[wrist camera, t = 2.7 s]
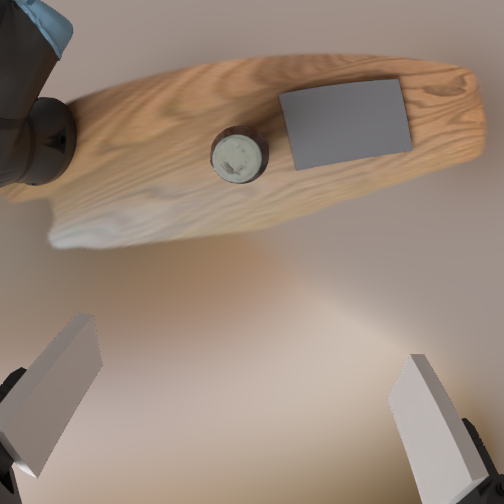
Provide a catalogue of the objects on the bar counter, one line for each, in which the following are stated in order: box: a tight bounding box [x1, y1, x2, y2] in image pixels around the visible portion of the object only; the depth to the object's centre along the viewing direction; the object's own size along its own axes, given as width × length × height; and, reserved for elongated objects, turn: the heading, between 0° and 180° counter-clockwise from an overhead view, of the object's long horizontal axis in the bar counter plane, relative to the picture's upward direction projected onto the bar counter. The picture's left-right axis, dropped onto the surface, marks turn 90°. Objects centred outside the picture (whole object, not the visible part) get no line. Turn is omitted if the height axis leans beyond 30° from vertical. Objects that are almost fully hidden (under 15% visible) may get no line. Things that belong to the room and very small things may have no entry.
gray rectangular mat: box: [278, 79, 412, 171], centre depth 40 cm, size 18×11×2 cm, turn 103°
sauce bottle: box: [210, 126, 269, 184], centre depth 33 cm, size 7×6×20 cm
